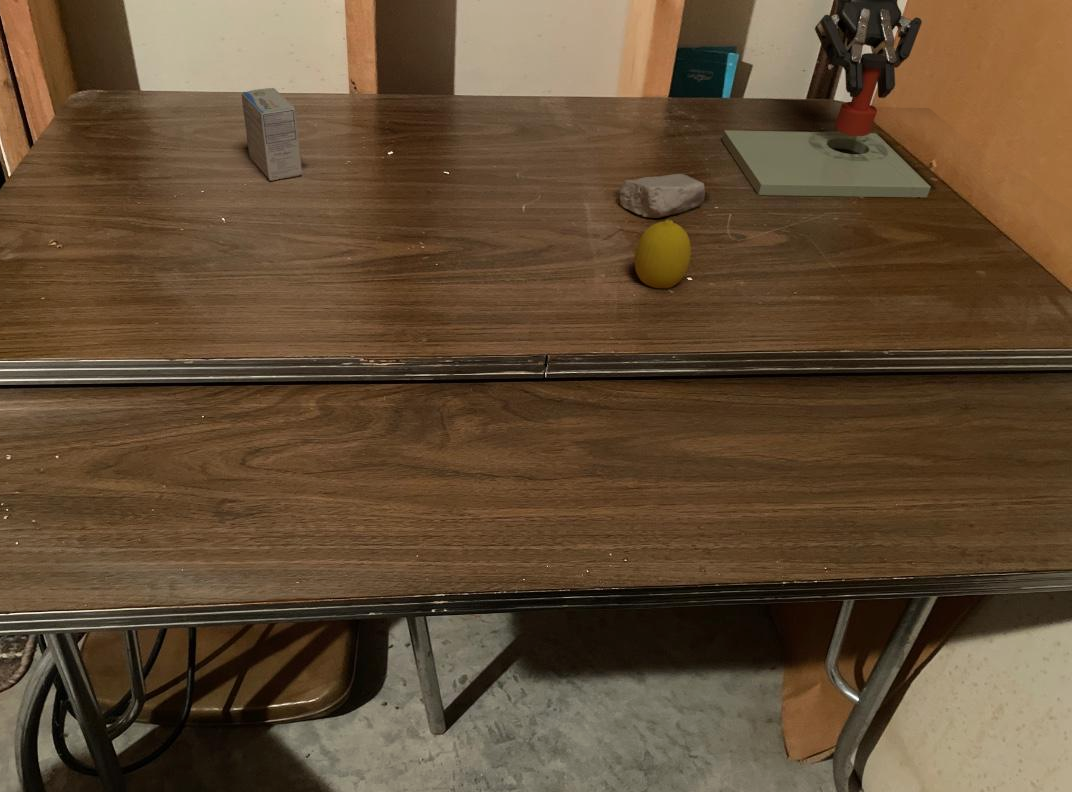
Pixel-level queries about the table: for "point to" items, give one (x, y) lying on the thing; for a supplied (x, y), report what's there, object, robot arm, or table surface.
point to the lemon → (662, 255)
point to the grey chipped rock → (662, 195)
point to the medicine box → (272, 133)
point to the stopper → (862, 99)
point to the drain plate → (822, 165)
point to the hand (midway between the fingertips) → (870, 94)
